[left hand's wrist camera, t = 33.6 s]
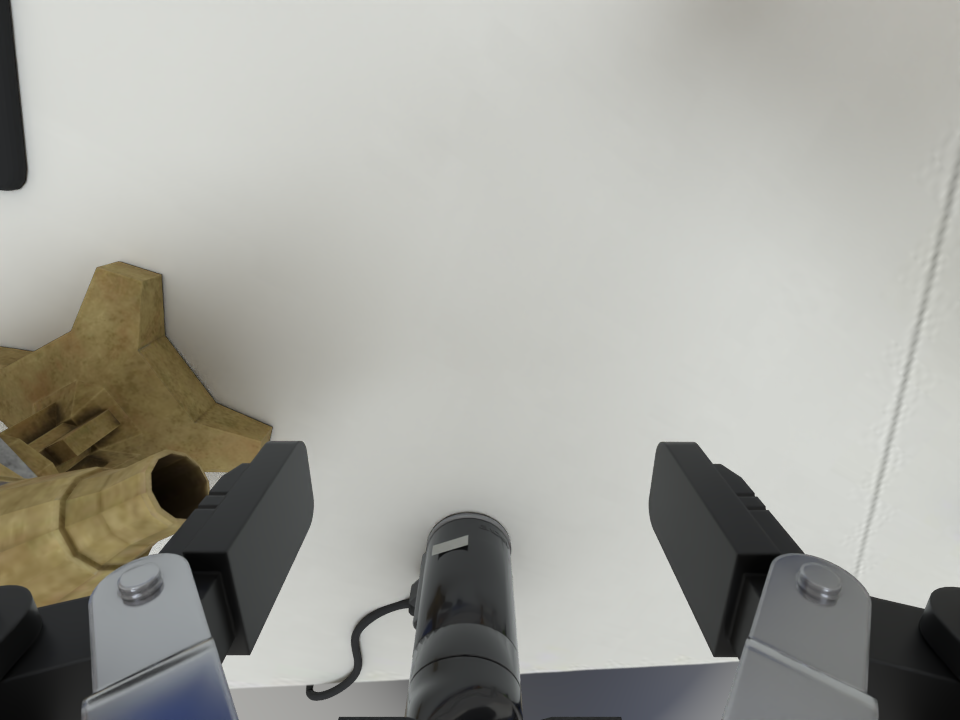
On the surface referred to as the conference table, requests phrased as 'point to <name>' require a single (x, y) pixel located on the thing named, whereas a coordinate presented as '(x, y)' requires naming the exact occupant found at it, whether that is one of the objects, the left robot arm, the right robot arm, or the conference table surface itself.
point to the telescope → (105, 441)
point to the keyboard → (9, 110)
